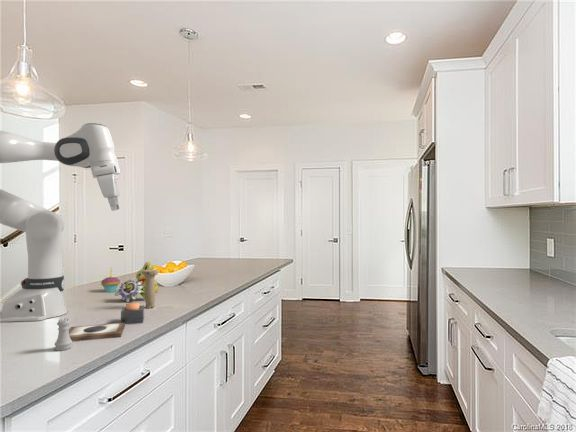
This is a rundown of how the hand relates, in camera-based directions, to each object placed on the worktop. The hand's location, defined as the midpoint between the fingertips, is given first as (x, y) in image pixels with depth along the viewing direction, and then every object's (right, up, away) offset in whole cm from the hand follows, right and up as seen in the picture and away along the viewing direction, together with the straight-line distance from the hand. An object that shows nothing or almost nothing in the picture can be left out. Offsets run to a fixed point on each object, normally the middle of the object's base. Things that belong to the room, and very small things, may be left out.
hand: (115, 210), depth 131 cm
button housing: (+5, -39, +2) cm, 39 cm away
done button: (+5, -36, +2) cm, 37 cm away
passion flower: (-9, -40, +36) cm, 54 cm away
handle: (+4, -40, +22) cm, 45 cm away
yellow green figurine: (-10, -40, +54) cm, 68 cm away
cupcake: (-29, -40, +57) cm, 75 cm away
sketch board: (-1, -39, -13) cm, 41 cm away
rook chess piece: (-3, -39, -26) cm, 47 cm away
